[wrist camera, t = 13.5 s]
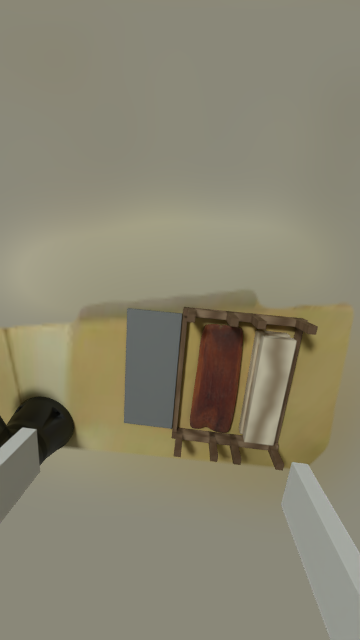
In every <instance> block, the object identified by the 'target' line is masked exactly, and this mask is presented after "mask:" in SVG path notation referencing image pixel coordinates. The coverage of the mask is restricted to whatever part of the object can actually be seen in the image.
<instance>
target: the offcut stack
mask: <svg viewBox="0 0 360 640" xmlns="http://www.w3.org/2000/svg"><path fill="white" fill-rule="evenodd" d="M296 342H297V341H296V340H295V339H293V338H290V335H289V334H287V333H281V332H271V331H261V330H256V332H255V338H254V344H253V349H252V355H251V361H250V366H249V372H248V378H247V383H246V389H245V395H244V401H243V406H242V412H241V418H240V423H239V431H240V434H243V439H244V442H249V443H257V444H265V445H274V440H275V436H276V431H277V427H278V422H279V418H280V413H281V409H282V405H283V400H284V396H285V391H286V387H287V382H288V378H289V373H290V369H291V364H292V360H293V356H294V351H295V347H296Z"/></svg>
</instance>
